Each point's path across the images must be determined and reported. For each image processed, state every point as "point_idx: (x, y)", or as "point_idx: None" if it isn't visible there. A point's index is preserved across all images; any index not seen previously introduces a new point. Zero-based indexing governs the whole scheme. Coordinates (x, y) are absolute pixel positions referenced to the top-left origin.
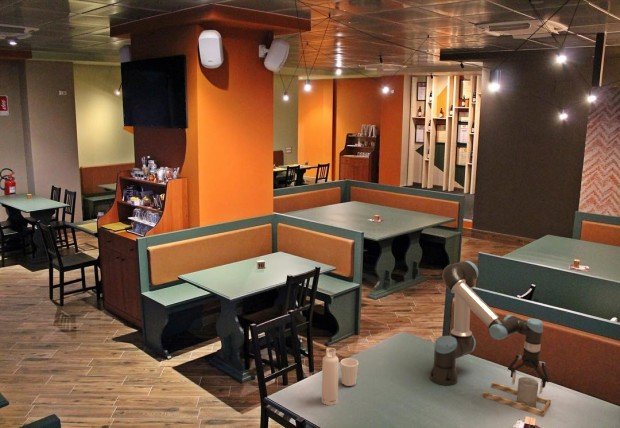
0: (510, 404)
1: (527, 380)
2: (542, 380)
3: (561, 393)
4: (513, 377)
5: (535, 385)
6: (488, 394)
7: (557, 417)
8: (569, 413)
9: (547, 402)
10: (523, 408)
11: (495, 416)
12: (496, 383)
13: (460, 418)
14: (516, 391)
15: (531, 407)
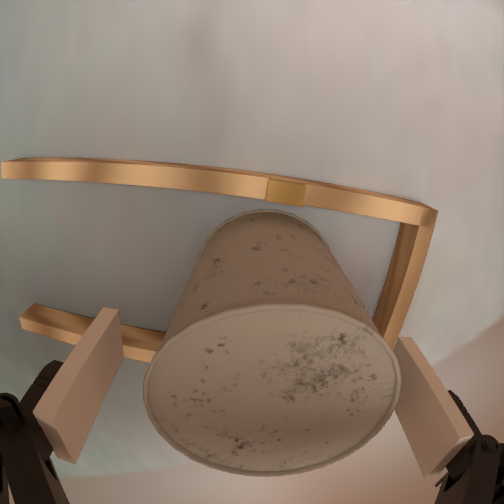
0: None
1: (257, 379)
2: (443, 488)
3: (456, 15)
4: (89, 415)
5: (359, 432)
6: (47, 334)
7: (437, 328)
8: (495, 252)
9: (415, 257)
10: None
11: (158, 441)
12: (22, 164)
13: (82, 463)
14: (166, 186)
15: None
